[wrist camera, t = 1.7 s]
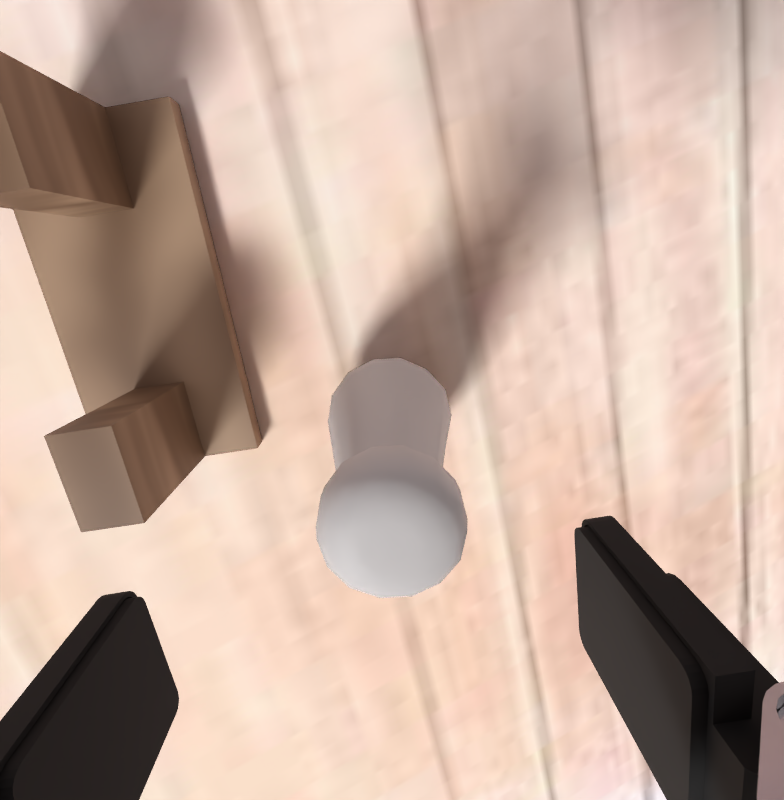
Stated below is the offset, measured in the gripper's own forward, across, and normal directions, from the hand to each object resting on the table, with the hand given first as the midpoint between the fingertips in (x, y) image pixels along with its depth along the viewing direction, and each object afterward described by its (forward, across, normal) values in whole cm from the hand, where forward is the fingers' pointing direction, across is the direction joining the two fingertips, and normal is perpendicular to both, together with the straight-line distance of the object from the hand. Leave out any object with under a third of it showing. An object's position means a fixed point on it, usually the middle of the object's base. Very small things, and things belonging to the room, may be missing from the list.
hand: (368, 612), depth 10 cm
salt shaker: (+16, -1, 0) cm, 16 cm away
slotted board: (+16, +10, -7) cm, 20 cm away
